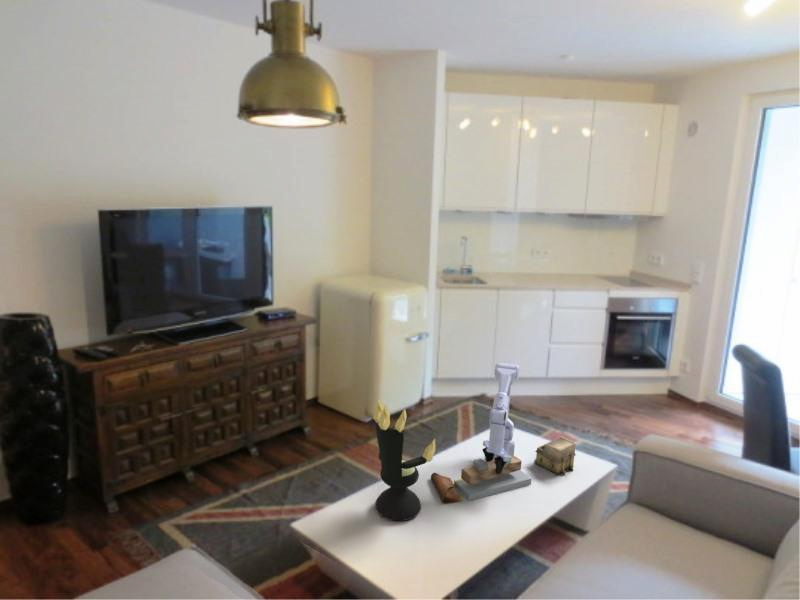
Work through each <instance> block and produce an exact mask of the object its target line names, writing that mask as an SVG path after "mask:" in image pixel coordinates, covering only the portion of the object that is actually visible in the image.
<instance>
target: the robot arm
mask: <svg viewBox="0 0 800 600" xmlns="http://www.w3.org/2000/svg"><path fill="white" fill-rule="evenodd" d="M519 371H520V366H519V364H511V363H505V362H504V363H503V362H496V363H495V366H494V378H495V379H496V380H498V381H499V382H498V393H496V394H495V395H494V399H493V403H492V409H490V411H489V437H488V439H486V440H483V441H482V446H484V448H482V452H483V456H484V458H485V462H488V461H492V460H495V463H496V474H500V473H501V472H502V470H503V467H504V465H505V464H506V462H507V461H509V456H510V455H514V456H515V444H516V443H515V441H514V438H513V437H514V430H515V429H514V426H515V425H514V422H513V421H512V420H511V419H510V418H509V411H510V401H511V392H512V391H511V390H512V385H513V383H516V382H517V383H518V380H519V375H520V374H519V373H520V372H519ZM507 454H508V455H509V456H508V455H507ZM496 455H498V456H499V457H496Z"/></svg>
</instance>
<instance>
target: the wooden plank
mask: <svg viewBox="0 0 800 600" xmlns="http://www.w3.org/2000/svg"><path fill="white" fill-rule="evenodd" d="M510 457H511V463H509V464H505V465H504V467H503V470H502V472H501V473H500V474H496V463H495V460H492V461H488V462H486V461H485V462H486V463H488V470H485V471H481V472H479V471H478V470H476V469H475V468H474V467H473V465H472V466H468V467H463V468H461V474H460V477H461V478H460V479H463V480H464V481H465V482H466V483H468V484H469V485H472V484H475V483H478V482H482V481H485V480H488V479H492V478H495V477H498V476H501V475H505V474H508V473H511V472H515V471H518V470H521V469H522V460H521V459H519V458H518V457H517V456H515V454H514V455H510ZM521 471H522V470H521Z"/></svg>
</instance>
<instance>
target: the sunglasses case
mask: <svg viewBox="0 0 800 600" xmlns="http://www.w3.org/2000/svg"><path fill="white" fill-rule="evenodd" d="M430 480H431V481H432V484H433V486H434V487H435V489H436V491H437V493H438V495H439V496H440V499H441V501H442V503H443V504H445V505H448V504H455V503H462V502H463V499H462V496H461V495H460V492H459V491H458V490H457V489H456V488H455V486H454V481H453V480H452V478H451V477H448V476H444V475H441V474H440V473H436V472H433V473H432V474H431V475H430Z"/></svg>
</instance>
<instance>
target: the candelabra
mask: <svg viewBox="0 0 800 600" xmlns="http://www.w3.org/2000/svg"><path fill="white" fill-rule="evenodd" d="M407 416H408V415H407V411H406V408H404V409H403V411H402V412H401V414H400V415H399V418H398V419H397V420H396V423H395V425H394V428H389V427H390V424H391V420H390V418H391V413H390V411H389V409H388V407H387V405H386V404H383V403H382V401H381V400H380V398H379V397H378V400H377V405H376V407H375V410H374V413H373V420H374V422H375V432H376V438H377V445H378V450H379V453H378V460H379V461H380V463H381V464H380V465H381V470H380V474H379V475H380V479H381V481H382V482H383V483H384V484H386V485H387V486H389V487H388V488H387V489H384V490H383V491H382V492H381V493H380V494H379V495H378V497H377V498H376V500H375V507H374V508H375V510H376V511H377V512H378V514H379V515H381V516H382V517H383V518H386V519H387V520H391V521H394V522H395V521H396V522H397V521H398V522H402V521H408V520H409V521H410V520H411V519H413V518H415V517H416V516H417V515H418V514H419V513H420V511H421V509H422V505H421V500H420V499H419V497H418V496H417V494H416V493H415V492H413V491H412V490H411V489H410V488H408V487H412V486H413V485H415V483H417V481H418V479H419V474H420V473H419V470H418V469H417V467H418V466H422V465H424V464H426V463H431V462H432V460H434V459H433V457H434V455H435V452H436V438H434V439H433V440H432V442H431V443H430V444H429V445H428V446H426V447H425V449H424V452H423V453H422V456H417V457H415V458H412V459H408V460H404V459H403V452H404V441H405V434H404V431H403V430H404V428H405V425H406V422H407Z"/></svg>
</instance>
